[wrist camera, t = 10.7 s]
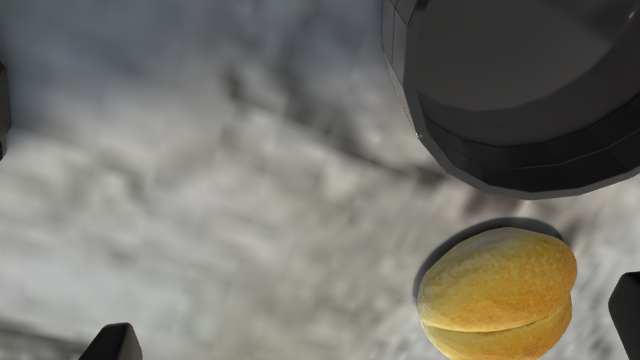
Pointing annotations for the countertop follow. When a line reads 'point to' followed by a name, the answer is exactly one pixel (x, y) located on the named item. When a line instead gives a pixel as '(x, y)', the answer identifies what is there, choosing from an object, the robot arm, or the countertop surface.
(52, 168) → the countertop surface
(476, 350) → the bread roll
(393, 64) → the pan
